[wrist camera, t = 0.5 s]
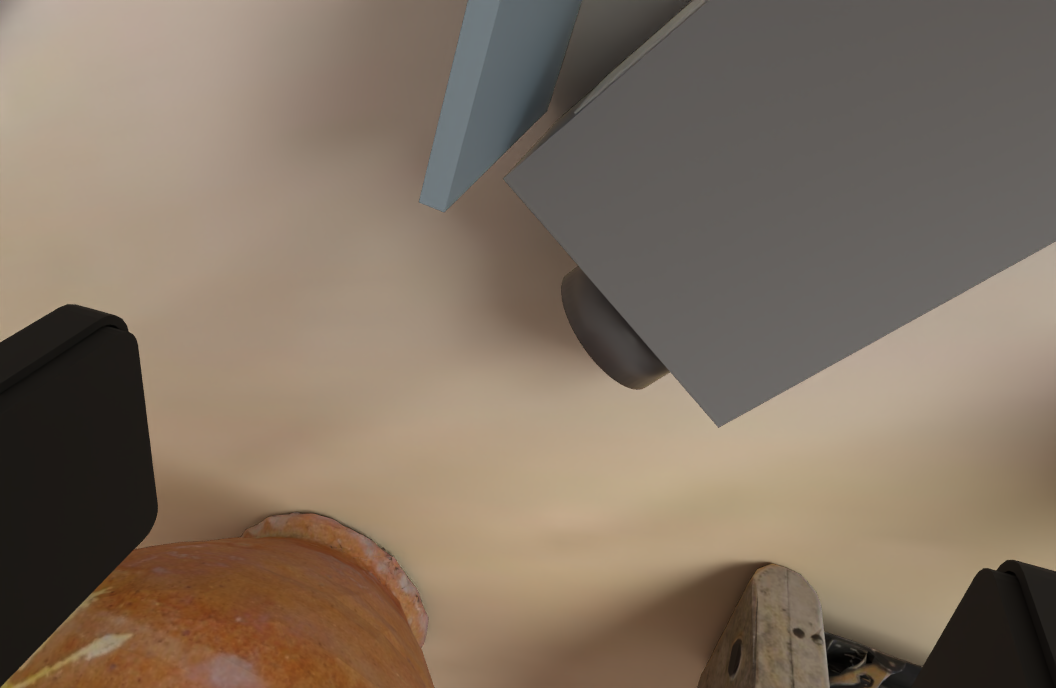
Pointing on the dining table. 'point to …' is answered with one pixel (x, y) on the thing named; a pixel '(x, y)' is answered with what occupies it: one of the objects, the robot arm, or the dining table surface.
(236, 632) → the jug
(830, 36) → the box
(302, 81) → the dining table surface
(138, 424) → the robot arm
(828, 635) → the vintage camera
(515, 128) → the side door
